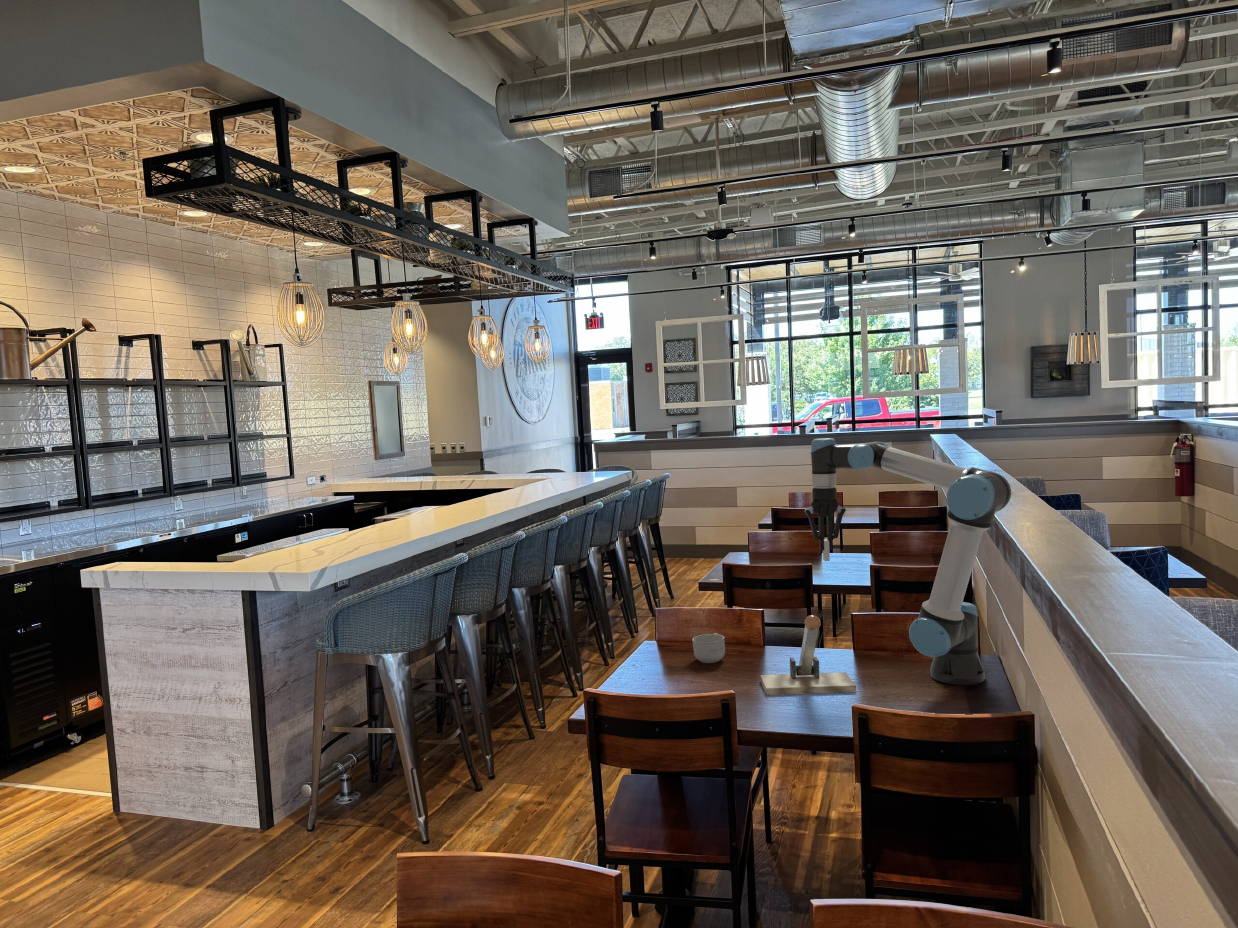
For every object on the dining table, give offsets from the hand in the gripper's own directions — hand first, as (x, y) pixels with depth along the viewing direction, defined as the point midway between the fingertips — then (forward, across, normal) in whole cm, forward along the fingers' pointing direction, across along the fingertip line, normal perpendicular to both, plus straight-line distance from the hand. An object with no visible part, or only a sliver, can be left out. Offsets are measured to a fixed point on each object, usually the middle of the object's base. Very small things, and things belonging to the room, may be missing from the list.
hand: (826, 560), depth 259 cm
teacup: (+35, +37, -11) cm, 52 cm away
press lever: (+32, +11, +15) cm, 37 cm away
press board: (+34, +11, +19) cm, 41 cm away
